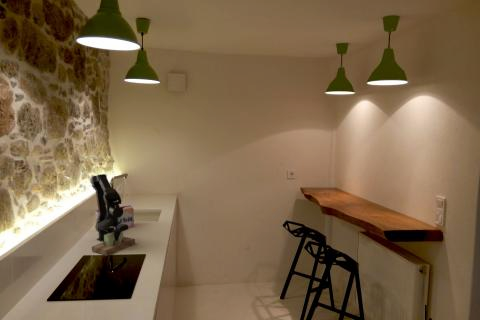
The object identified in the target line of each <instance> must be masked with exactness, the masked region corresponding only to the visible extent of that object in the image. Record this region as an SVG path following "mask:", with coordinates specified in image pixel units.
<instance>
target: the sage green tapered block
mask: <svg viewBox="0 0 480 320" xmlns="http://www.w3.org/2000/svg"><path fill="white" fill-rule="evenodd" d="M123 232H124V231H122V232H121V233H120V236H119V238H118V240H117V241H115V242H117V243H120V242H122V237H123V236H124V234H123ZM113 240H115V237H114V232H111V233H108V234H105V235H104V241H103V242H105V241H106V245H107V246H113Z"/></svg>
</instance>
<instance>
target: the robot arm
mask: <svg viewBox="0 0 480 320" xmlns="http://www.w3.org/2000/svg"><path fill="white" fill-rule="evenodd" d="M89 179H90V180H89V182H90V184H91V187H92V188H93V190H95V196H96V202H97V203H96V204H97V210H99V215H98V217H97V222H95V225H94V228H95V231H97V233H98V238H96V240H97V241H100V242H105V241H104V235H105V234H108V233H111V232H114V237H115V241H117V240H118V238H119V236H120V233H121V232H122V231H123V232H125V231H128V230H129V228H128V225H127V224H120V222H118V218H119V217H121V216H122V215H123V209H122V208H121V207H122V206H120V205H121V204H122V199H121V195H120V193H119V192H118V191H117V190H116V188H113V187H112V185H111V183H110V181H109V179H108V176H107V174H105V173H102V174H97V175H92V176H90V178H89ZM118 224H120V225H118ZM114 228H115V230H114Z"/></svg>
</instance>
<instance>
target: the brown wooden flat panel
mask: <svg viewBox="0 0 480 320" xmlns="http://www.w3.org/2000/svg"><path fill="white" fill-rule="evenodd" d="M134 245H136V239H135V238H132V237H128V236H124V235H123V237H122V242H120V243H117V242H115V240H113V246H107V245H106V241H102V242H100V243H97V244H95V245H92V246H91V253H95V254H98V255H102V256H106V257H107V256H110V255H112V254H115V253H117V252H119V251H121V250H124V249H126V248H129V247H132V246H134Z"/></svg>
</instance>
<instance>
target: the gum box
mask: <svg viewBox="0 0 480 320" xmlns="http://www.w3.org/2000/svg"><path fill="white" fill-rule="evenodd" d="M120 207H121V208H122V209H123V215H122V216H121V217H119V218H118V222H120V224H127V225H128V229H131V228H134V227H135V219H134V218H135V217H134V216H135V215H134V214H135V213H134V212H135V211H134V207H133V206H132V205H124V206H120ZM98 215H99V210H98V209H97V210H95V218H96V219H95V221H96V222H97V217H98ZM96 222H95V223H96ZM120 224H118V225H120ZM114 230H115V228H114Z"/></svg>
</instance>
